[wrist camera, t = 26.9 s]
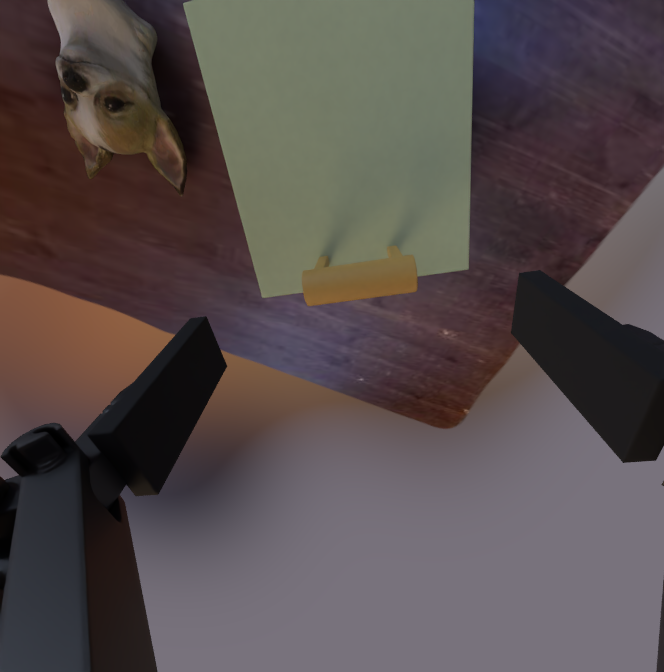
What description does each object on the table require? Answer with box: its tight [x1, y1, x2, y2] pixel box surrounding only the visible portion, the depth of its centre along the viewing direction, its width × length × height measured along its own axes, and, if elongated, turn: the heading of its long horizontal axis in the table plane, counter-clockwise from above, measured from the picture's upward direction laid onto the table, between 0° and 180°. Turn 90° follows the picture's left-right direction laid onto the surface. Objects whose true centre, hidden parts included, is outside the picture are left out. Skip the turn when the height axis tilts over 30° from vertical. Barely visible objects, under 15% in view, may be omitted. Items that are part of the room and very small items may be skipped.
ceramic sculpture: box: [48, 0, 187, 196], centre depth 27 cm, size 11×9×15 cm
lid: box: [183, 0, 474, 306], centre depth 18 cm, size 18×16×8 cm
